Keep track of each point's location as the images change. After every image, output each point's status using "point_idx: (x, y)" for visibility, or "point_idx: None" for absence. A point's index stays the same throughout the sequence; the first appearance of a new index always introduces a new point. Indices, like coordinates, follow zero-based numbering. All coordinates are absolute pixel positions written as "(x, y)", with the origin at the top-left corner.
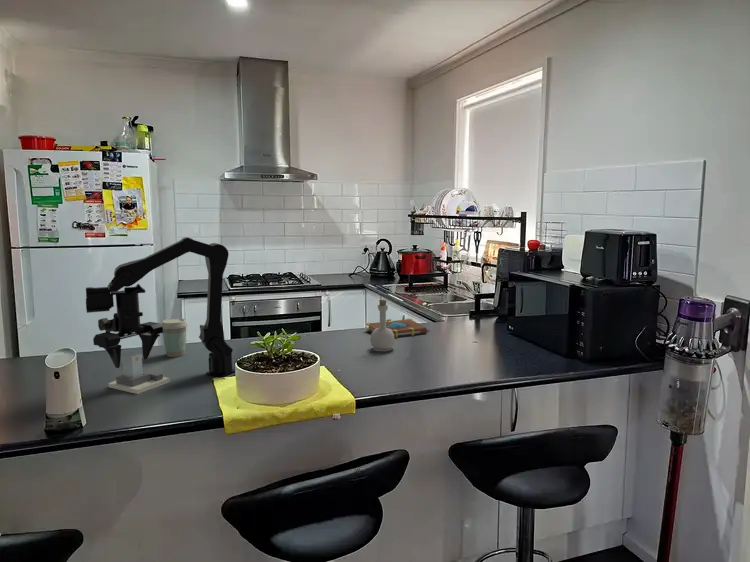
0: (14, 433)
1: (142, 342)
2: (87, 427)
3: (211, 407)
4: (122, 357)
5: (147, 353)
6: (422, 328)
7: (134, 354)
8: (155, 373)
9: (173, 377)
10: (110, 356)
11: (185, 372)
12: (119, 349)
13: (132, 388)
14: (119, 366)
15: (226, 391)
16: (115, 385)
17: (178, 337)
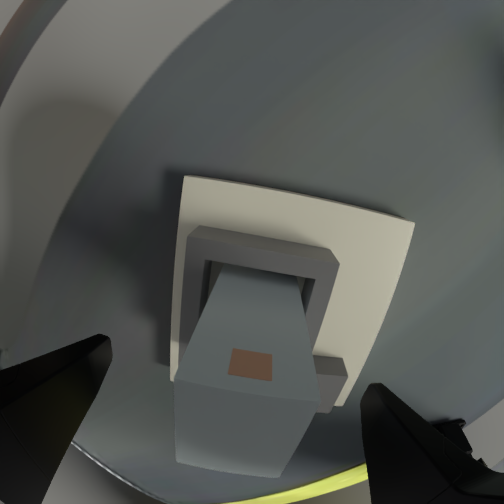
0: None
1: (438, 485)
2: (5, 358)
3: (195, 500)
4: (181, 361)
5: (365, 450)
6: None
7: (250, 453)
8: (329, 388)
9: (397, 368)
10: (17, 369)
11: (451, 364)
12: (30, 491)
13: (172, 355)
14: (106, 369)
15: (288, 499)
16: (178, 238)
17: None
